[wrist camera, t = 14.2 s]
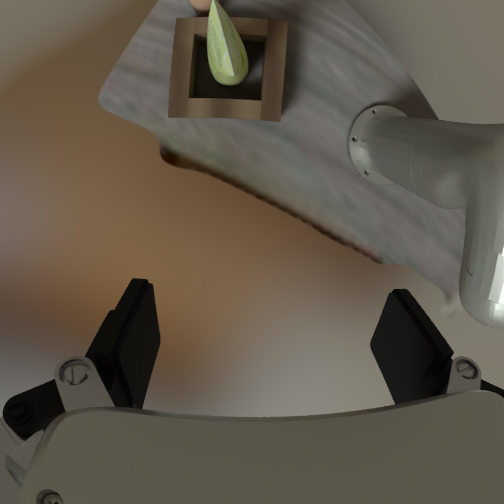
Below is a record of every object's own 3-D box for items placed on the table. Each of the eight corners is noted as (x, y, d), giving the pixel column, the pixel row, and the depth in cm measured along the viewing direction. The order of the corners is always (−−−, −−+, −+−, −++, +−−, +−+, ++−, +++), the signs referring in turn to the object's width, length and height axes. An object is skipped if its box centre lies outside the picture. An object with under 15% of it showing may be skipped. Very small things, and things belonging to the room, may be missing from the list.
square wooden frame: (283, 31, 32) (288, 21, 27) (275, 121, 38) (280, 121, 33) (183, 28, 31) (176, 18, 27) (176, 117, 37) (167, 117, 33)
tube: (259, 68, 34) (273, 28, 17) (237, 95, 36) (233, 75, 19) (225, 48, 33) (212, -5, 15) (204, 75, 35) (172, 41, 17)
